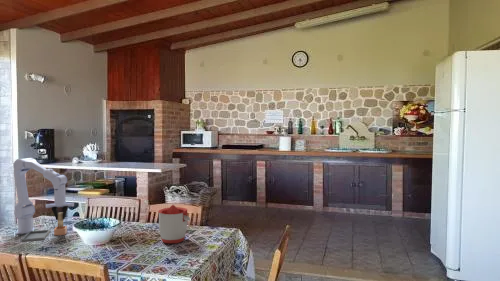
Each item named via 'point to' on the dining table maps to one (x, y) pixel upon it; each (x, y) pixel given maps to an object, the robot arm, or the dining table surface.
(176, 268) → the dining table surface
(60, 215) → the dowel
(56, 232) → the open box
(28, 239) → the tray
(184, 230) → the citrus juicer
